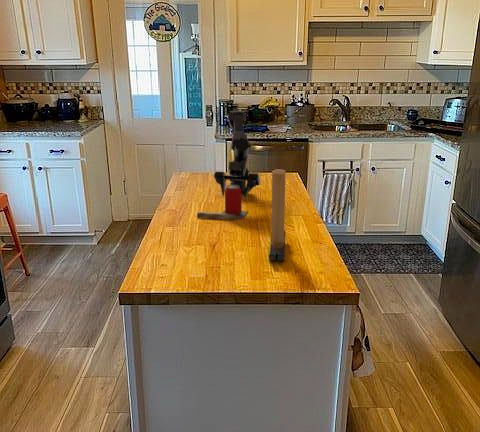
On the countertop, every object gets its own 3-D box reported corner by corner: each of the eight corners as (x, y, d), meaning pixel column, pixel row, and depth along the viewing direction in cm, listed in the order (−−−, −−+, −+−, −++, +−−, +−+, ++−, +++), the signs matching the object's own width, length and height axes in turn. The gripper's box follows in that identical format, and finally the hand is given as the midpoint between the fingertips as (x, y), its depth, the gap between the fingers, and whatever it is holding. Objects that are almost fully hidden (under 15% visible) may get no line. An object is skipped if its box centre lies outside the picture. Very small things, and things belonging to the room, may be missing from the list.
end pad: (219, 217, 195) (219, 216, 195) (224, 210, 203) (224, 209, 203) (243, 219, 192) (243, 218, 192) (247, 212, 201) (247, 211, 201)
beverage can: (242, 211, 200) (242, 184, 196) (240, 217, 194) (240, 188, 190) (226, 211, 201) (225, 183, 197) (224, 216, 194) (223, 188, 190)
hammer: (284, 270, 152) (286, 186, 138) (268, 270, 153) (268, 186, 138) (285, 237, 170) (287, 159, 155) (271, 236, 170) (272, 158, 155)
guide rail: (197, 217, 195) (197, 212, 194) (198, 216, 196) (198, 211, 195) (235, 220, 191) (235, 215, 191) (236, 219, 193) (236, 214, 192)
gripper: (214, 152, 197) (207, 185, 191) (258, 154, 193) (253, 188, 186) (220, 166, 207) (213, 198, 201) (262, 168, 203) (257, 201, 196)
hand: (233, 196), depth 196 cm, fingers open, 9 cm apart
